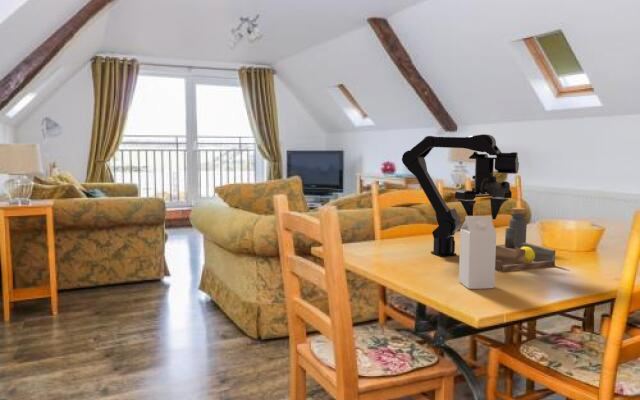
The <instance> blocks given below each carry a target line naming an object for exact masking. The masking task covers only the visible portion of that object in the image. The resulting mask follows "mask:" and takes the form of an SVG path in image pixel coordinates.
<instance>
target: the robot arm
mask: <svg viewBox="0 0 640 400" xmlns="http://www.w3.org/2000/svg"><path fill="white" fill-rule="evenodd" d="M434 148H449V149H450V148H451V149H453V148H454V149H467V150H470V151H474V152H473V153H472V154H471V155H470V156H469V157H468V159H470V160H475V167H474V168H475V169H474V175H472V180H474V187H472V188H471V190H470V189H469V190H468V189H457V190H456V191H455V193H454V199H456V200H457V201H458V202H460V203H461V205H462V207H463V208H464V210H465V213H466V216H474V205H475V204H476V202H477V200H475V199H476V198H486V197H490V198H489V200H490V201H489V203H490V211H491V220H496V219H497V216H498V214H499V212H500V209H501V207H502V206H503V204H504V203H505V202H506V201H507V202H508V201H509V199H512V198H513V197H512V195H513V193H512V190H511V189H510V188H511V185H510V184H511V183H510V182H509V181H502V182H498V181H497V176H496V175H494V170H495V171H497V173H498V174H512V175H513V174H514V175H517V174H518V173H519V169H520V162H519V157H518V153H519V152H516V151H515V152H502V151H501V150H500V148H499V147H498V146H497V140H496V138H495V137H494V136H493V135H491V134H485V133H484V134H477V135H476V134H475V135H469V136H461V137H459V136H458V137H457V136H435V135H434V136H433V135H426V136H425V137H424V138H423V139H422V140H421V141H419V142H418V143H417V144H415V145H414V146H413V147H412V148H411V149H410V150H406V151H405V152H404V153H403V154H402V157H401V161H402V164H403V165H404V167H406V169H407V170H408V171H409V172H410V173H411V174H412V175H413V176H415V178H416V180H417V182H418V183H419V186H420V187H421V189H422V191H423V192H424V194H425V196H426V198H427V200H428V201H429V203H430V205H431V207H432V208H433V211H434V212H435V219H436V222H437V225H438V226H437V227H436V228H435V229H433V231H432V232H431V234H432V237H433V250H432V251H430V253H431V254H433V255H436V256H439V257H449V256H457V253H456V252H455V251H456V249H455V248H456V241H455V234H456V232H457V231H458V230H460V229H461V227H462V221H461V219H462V217H461V216H460V215H459V214H458V212H457V210H456V209H457V208H455V207H454V208H450V207H449V206H448V205H447V204H446V202H445V200H444V199H443V197H442V195H441V193H440V191H439V189H438V187H437V186H436V184H435V181H434V180H433V179H432V177H431V175H430V174H429V171H428V168H427V167H428V165H427V162H426V159H425V157H427V156H428V155H429V154H430V153H431V151H432V150H433V149H434ZM478 152H479V153H478ZM488 155H489V156H490V157H489V156H488ZM491 156H494V157H491ZM495 156H496V157H495Z"/></svg>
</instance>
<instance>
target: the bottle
mask: <svg viewBox="0 0 640 400" xmlns="http://www.w3.org/2000/svg"><path fill="white" fill-rule="evenodd" d="M526 209H527V208H526V207H512V208H511V213H510V216H511V217H512V218H511V219H509V221H508V222H509V223H508V224H509V227H508V228H515V229H516V237H515V247H517V248H521V247H522V243H527V227H528V226H527V225H528V221H527V220H526V219H525V218H526V216H527V213H526V211H527V210H526Z"/></svg>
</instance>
